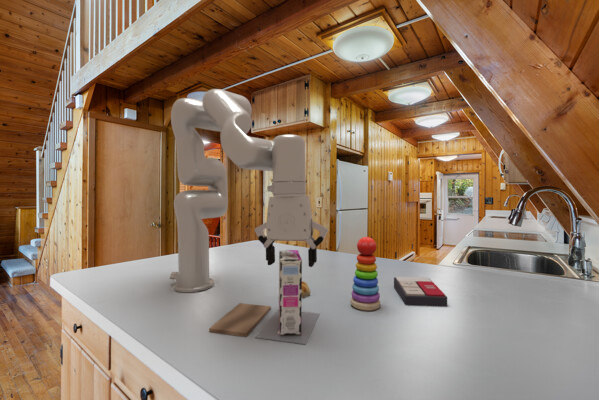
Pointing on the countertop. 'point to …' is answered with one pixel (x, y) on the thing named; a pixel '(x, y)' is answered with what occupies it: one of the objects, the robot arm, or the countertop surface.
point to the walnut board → (240, 320)
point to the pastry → (305, 290)
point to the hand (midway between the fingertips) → (291, 264)
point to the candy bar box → (290, 292)
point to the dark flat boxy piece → (419, 291)
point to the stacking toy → (366, 277)
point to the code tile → (273, 333)
